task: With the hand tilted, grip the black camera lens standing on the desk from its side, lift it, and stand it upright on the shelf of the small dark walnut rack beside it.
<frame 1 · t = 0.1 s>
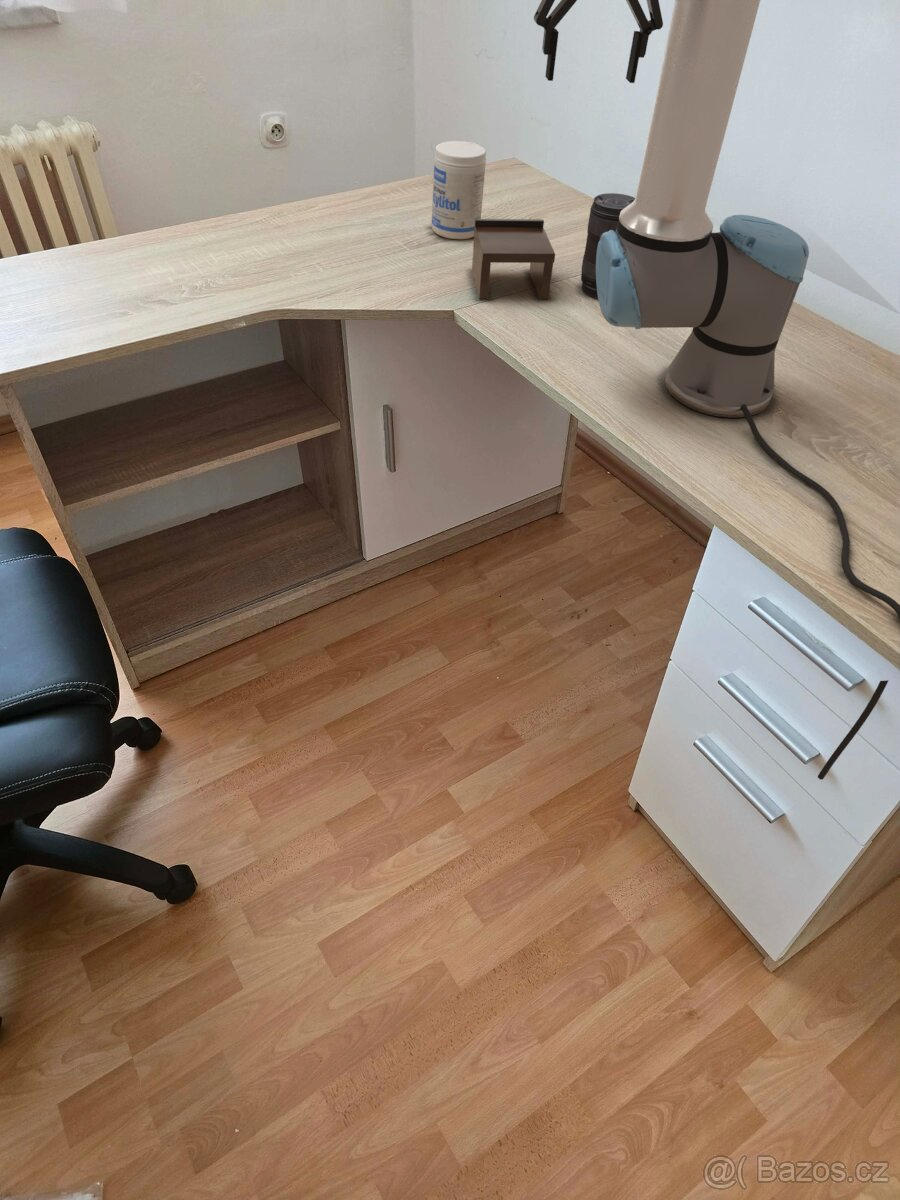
hand: (589, 80, 129), 28 cm above the table, tool pointing down, fingers open, 13 cm apart
camera lens: (600, 291, 138), on the table
rack: (509, 285, 138), on the table
supplement tub: (456, 232, 154), on the table
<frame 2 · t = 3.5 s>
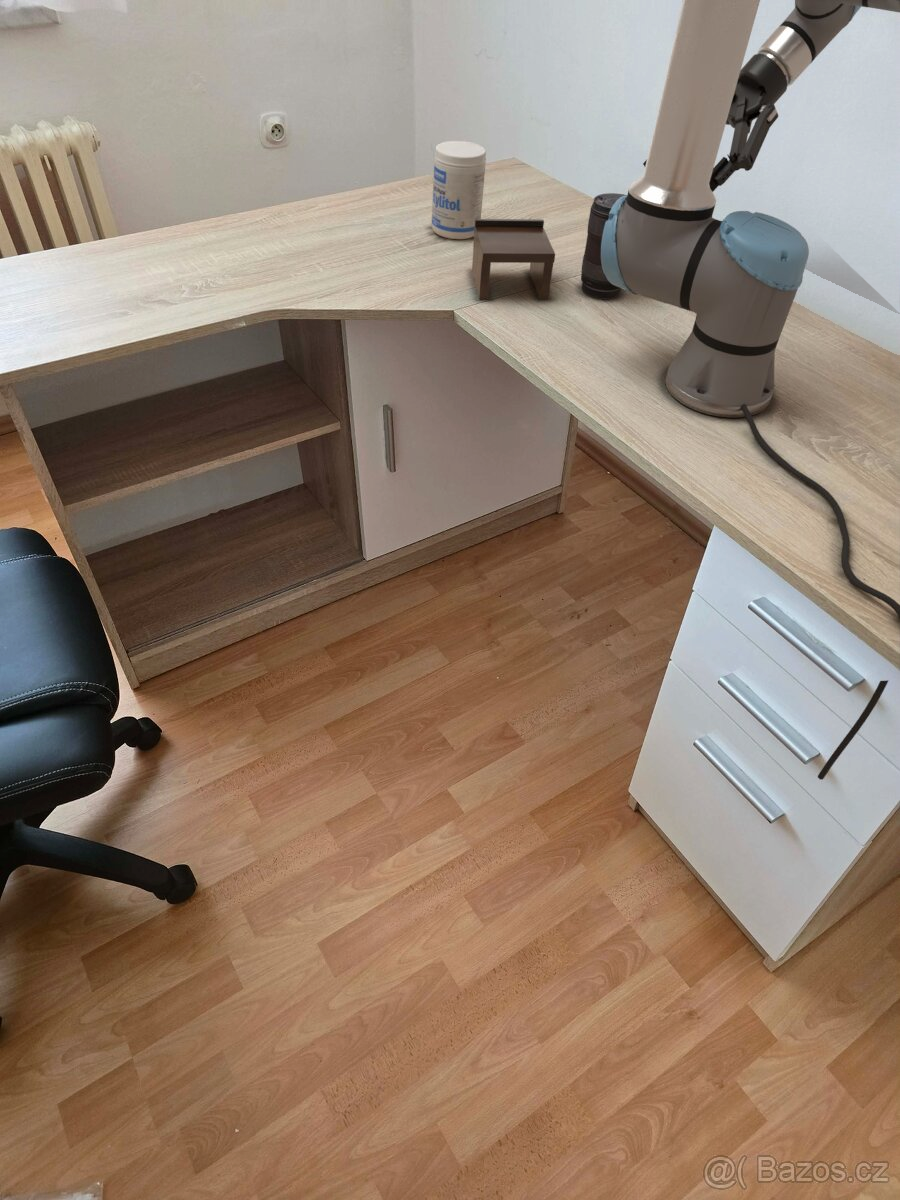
hand: (671, 183, 129), 16 cm above the table, tool tilted 45°, fingers open, 13 cm apart
nothing on the table moved.
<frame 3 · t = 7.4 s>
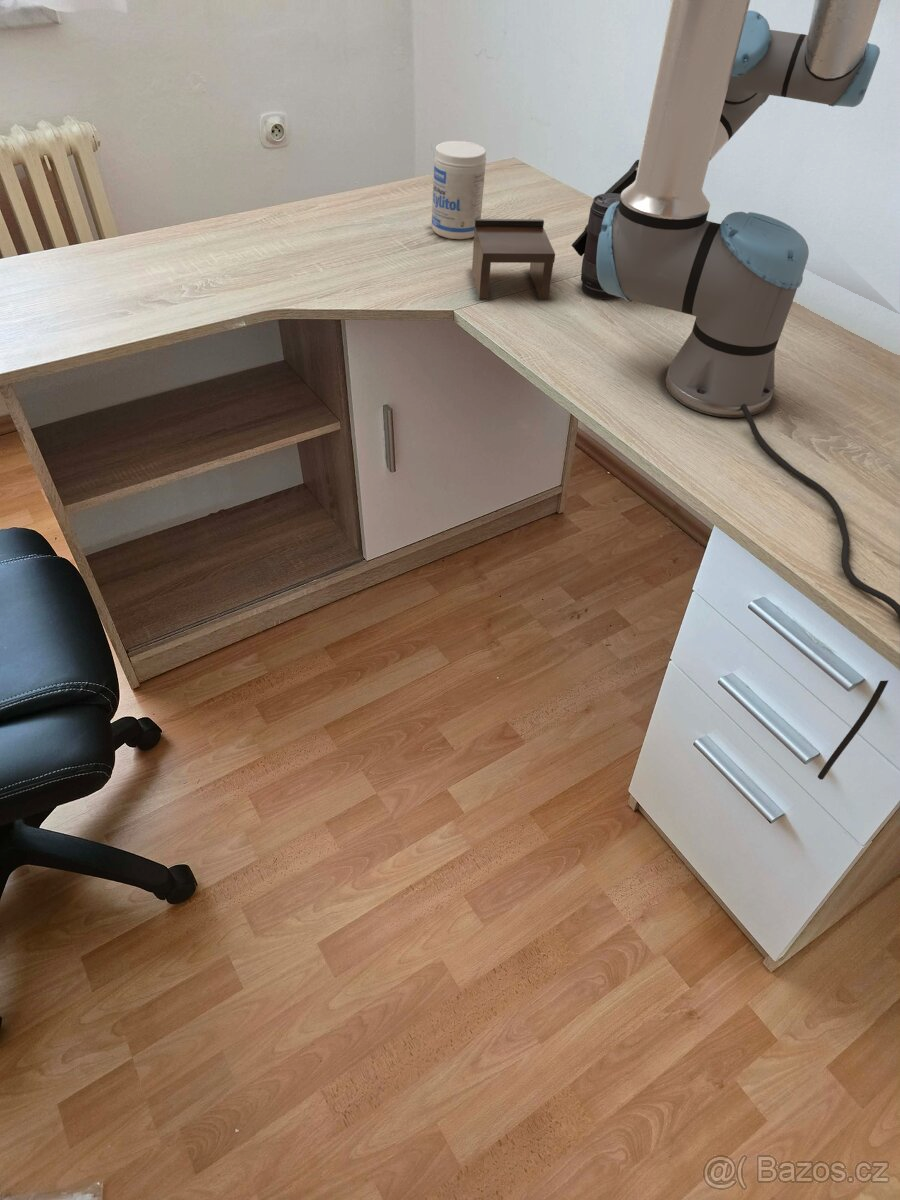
hand: (590, 261, 133), 6 cm above the table, tool tilted 45°, fingers closed on camera lens, 8 cm apart
camera lens: (600, 291, 138), on the table, touching gripper
everything else where it was.
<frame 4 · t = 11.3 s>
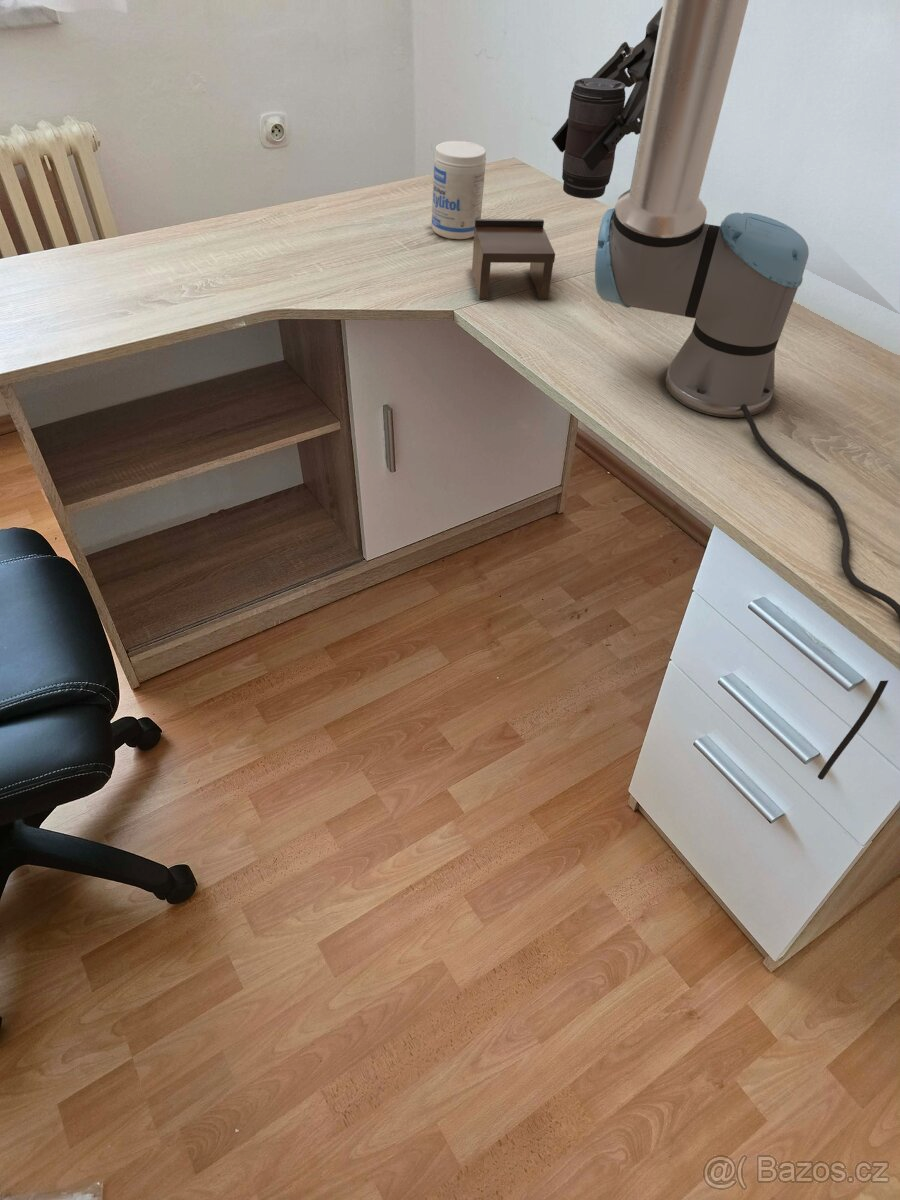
hand: (571, 154, 121), 22 cm above the table, tool tilted 45°, fingers closed on camera lens, 8 cm apart
camera lens: (583, 192, 127), point 16 cm above the table, touching gripper
everything else where it was.
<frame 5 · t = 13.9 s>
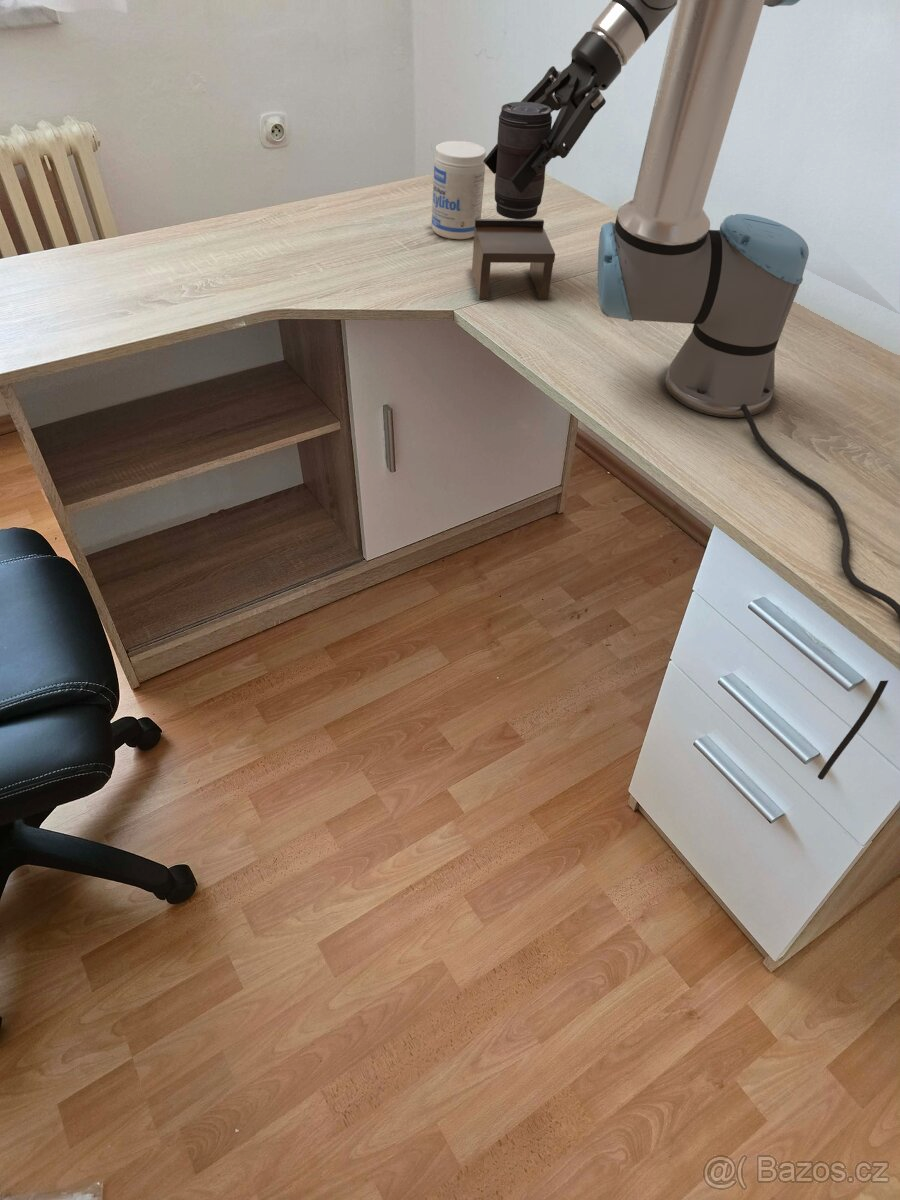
hand: (502, 176, 124), 18 cm above the table, tool tilted 45°, fingers closed on camera lens, 8 cm apart
camera lens: (516, 212, 129), point 12 cm above the table, touching gripper
everything else where it was.
when the fingers open (14 cm above the table, at t = 15.6 s): camera lens stays where it is, resting on rack.
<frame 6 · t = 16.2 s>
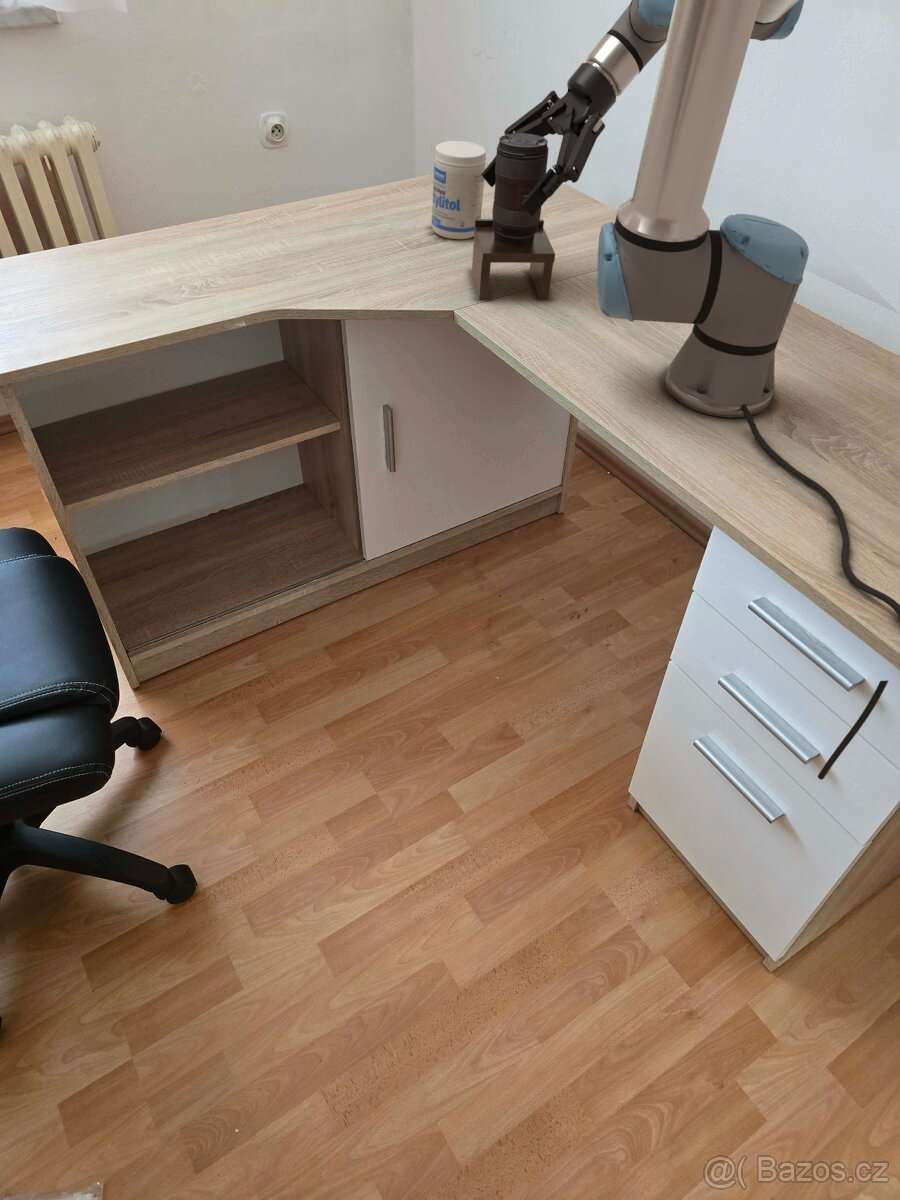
hand: (505, 195, 126), 15 cm above the table, tool tilted 45°, fingers open, 13 cm apart
camera lens: (513, 239, 132), point 8 cm above the table, touching rack
everything else where it was.
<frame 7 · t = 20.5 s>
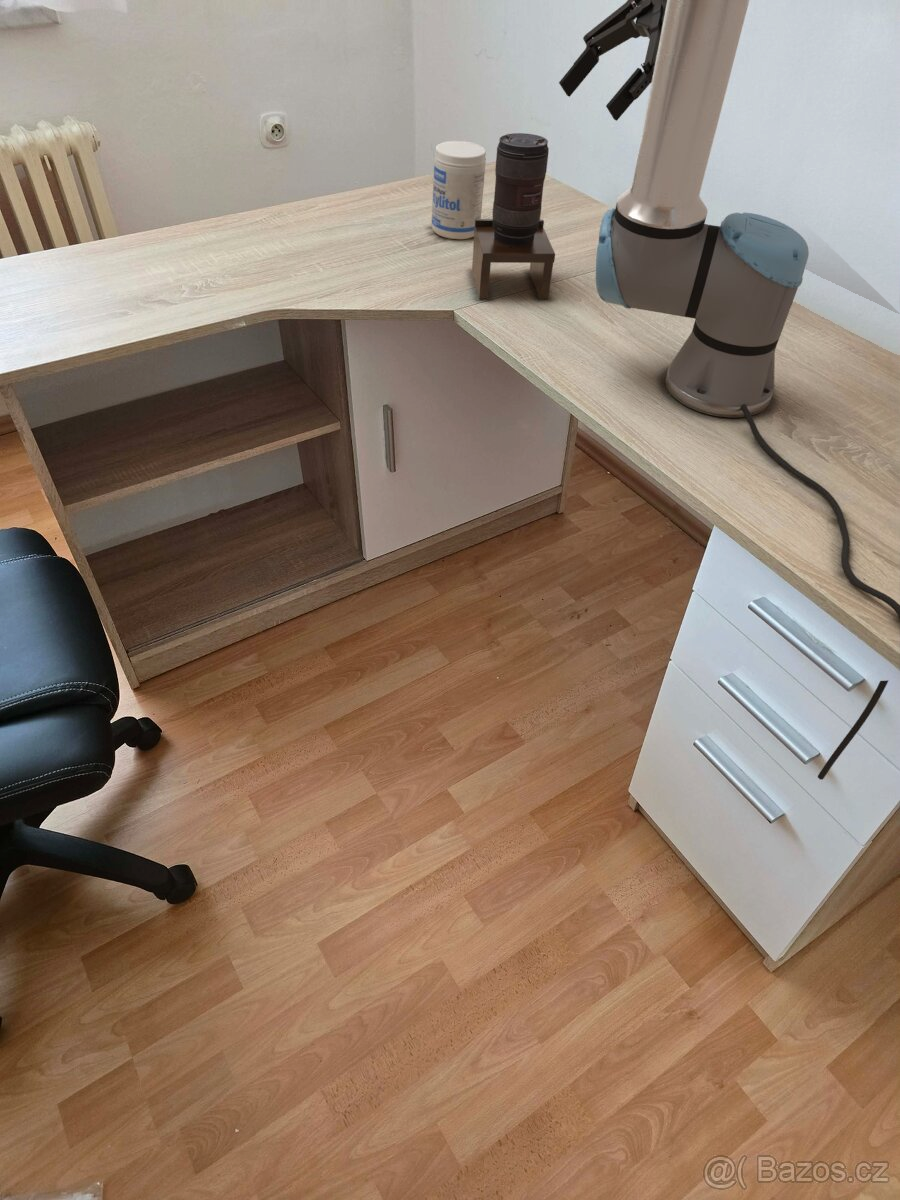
hand: (586, 101, 121), 27 cm above the table, tool tilted 45°, fingers open, 13 cm apart
nothing on the table moved.
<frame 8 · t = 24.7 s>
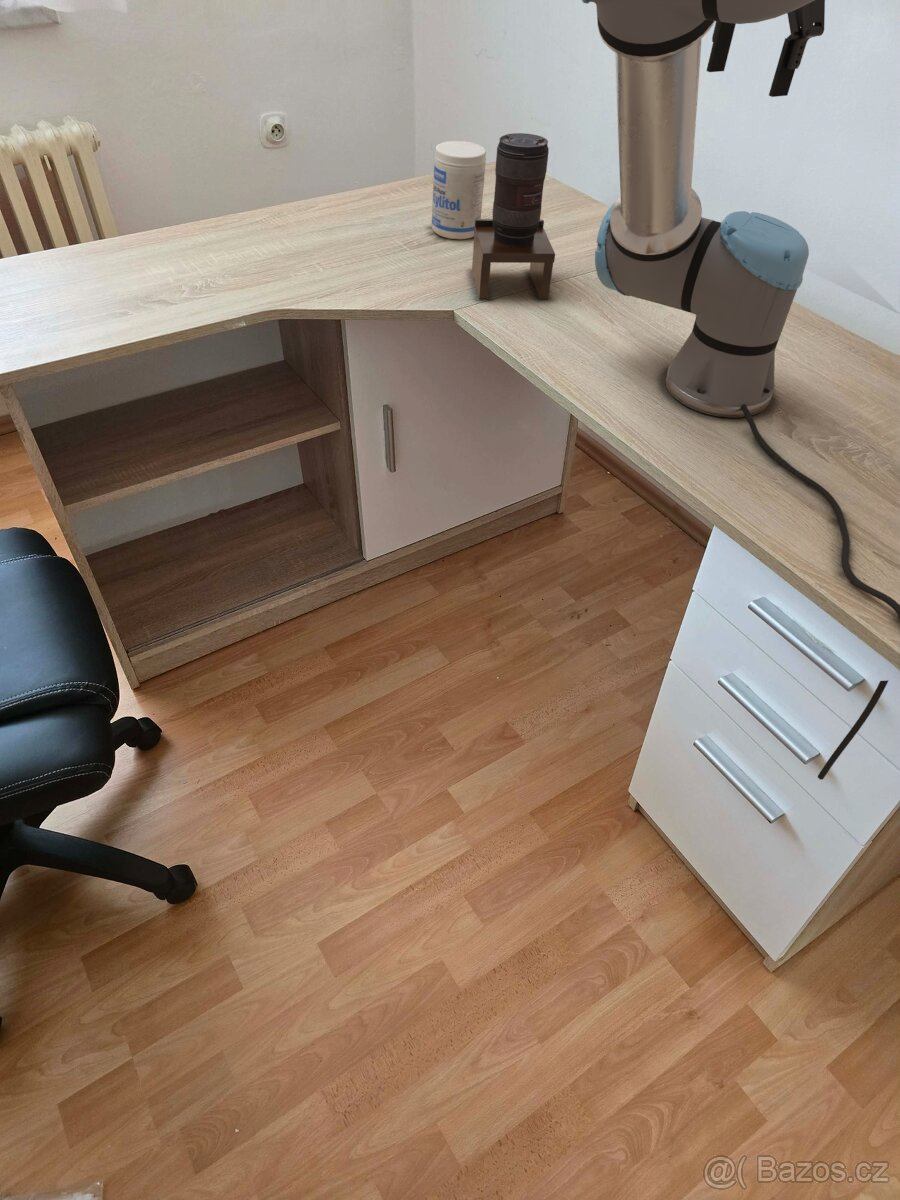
hand: (745, 83, 112), 33 cm above the table, tool pointing down, fingers open, 13 cm apart
nothing on the table moved.
at the end: camera lens 0.1 cm off-centre on the rack, point 7.8 cm above the rack's base; camera lens tilted 0°; the gripper is holding nothing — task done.
